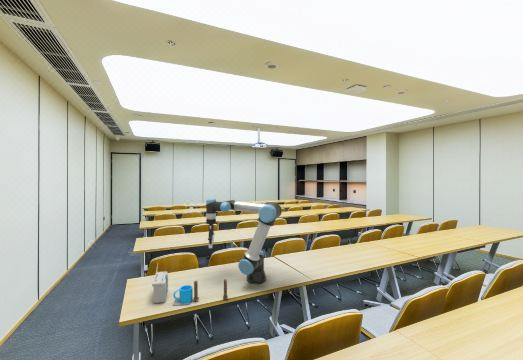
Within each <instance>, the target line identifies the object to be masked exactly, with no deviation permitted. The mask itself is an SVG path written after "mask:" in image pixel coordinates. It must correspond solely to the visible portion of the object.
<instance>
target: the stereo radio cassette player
mask: <svg viewBox="0 0 523 360" xmlns="http://www.w3.org/2000/svg"><path fill="white" fill-rule="evenodd" d="M158 264H159V262H157V266H156V268H158V266H159V265H158ZM151 286H152V287H153V303H154V304H159V303H165V302H166V299H167V293H168V289H169V288H168V287H169V273H168V271H158V269H156V271H155V274H154V277H153V280H152V283H151Z"/></svg>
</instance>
